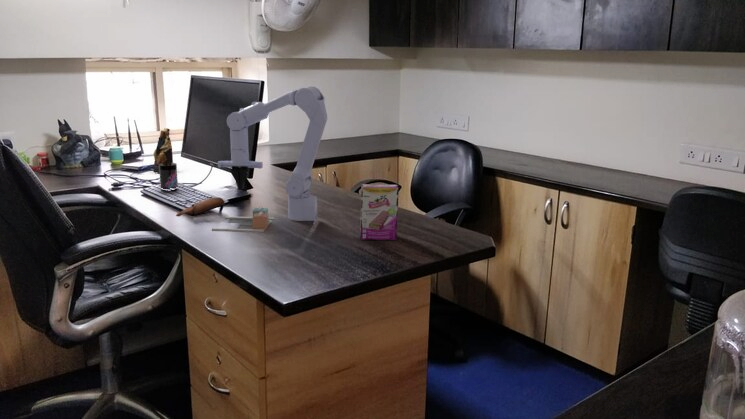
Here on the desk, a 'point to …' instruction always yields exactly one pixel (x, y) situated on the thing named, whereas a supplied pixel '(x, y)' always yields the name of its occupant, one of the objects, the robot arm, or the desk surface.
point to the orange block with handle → (260, 220)
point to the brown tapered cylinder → (203, 206)
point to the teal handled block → (260, 210)
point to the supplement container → (168, 175)
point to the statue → (163, 150)
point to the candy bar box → (378, 212)
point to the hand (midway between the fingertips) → (241, 189)
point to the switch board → (241, 225)
